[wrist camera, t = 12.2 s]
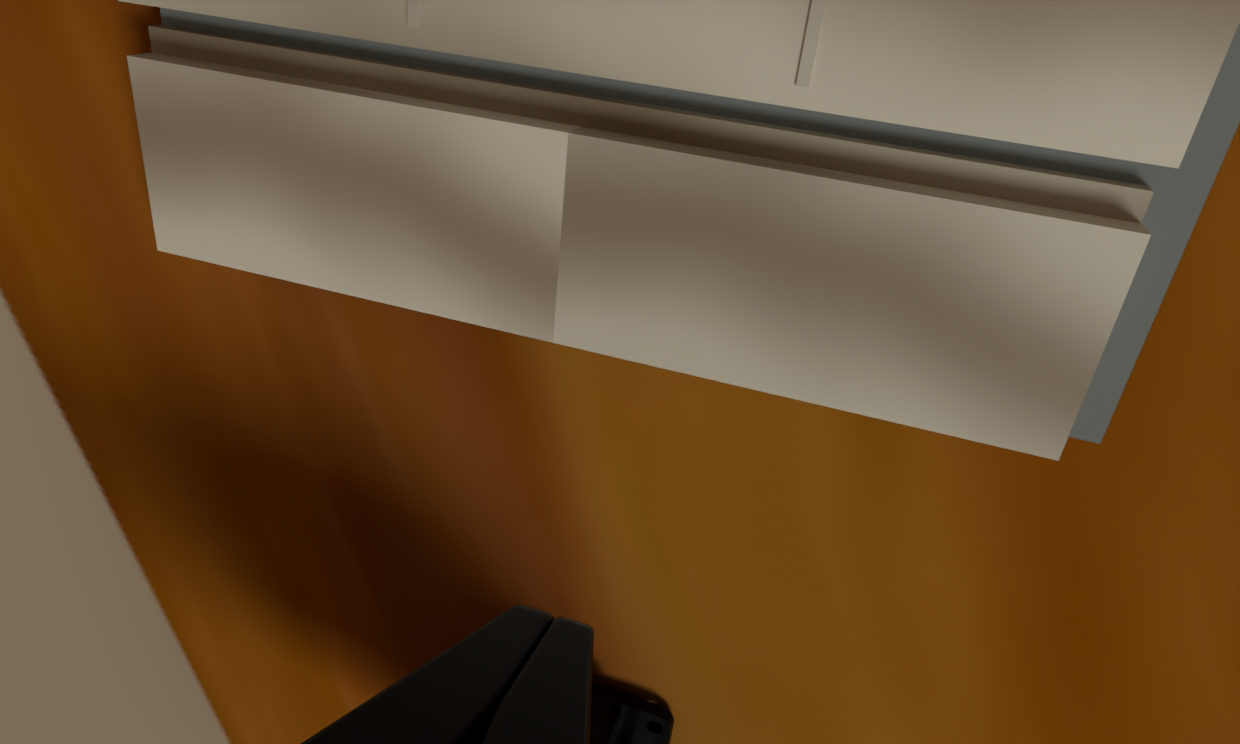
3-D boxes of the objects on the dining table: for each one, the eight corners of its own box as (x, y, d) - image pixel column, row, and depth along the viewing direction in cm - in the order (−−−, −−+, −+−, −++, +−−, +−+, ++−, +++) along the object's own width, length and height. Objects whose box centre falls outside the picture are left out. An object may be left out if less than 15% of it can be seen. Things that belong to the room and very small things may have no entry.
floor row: (1049, 432, 18) (1058, 460, 17) (191, 237, 23) (157, 250, 22) (1148, 185, 16) (1164, 201, 15) (161, 24, 21) (122, 28, 20)
